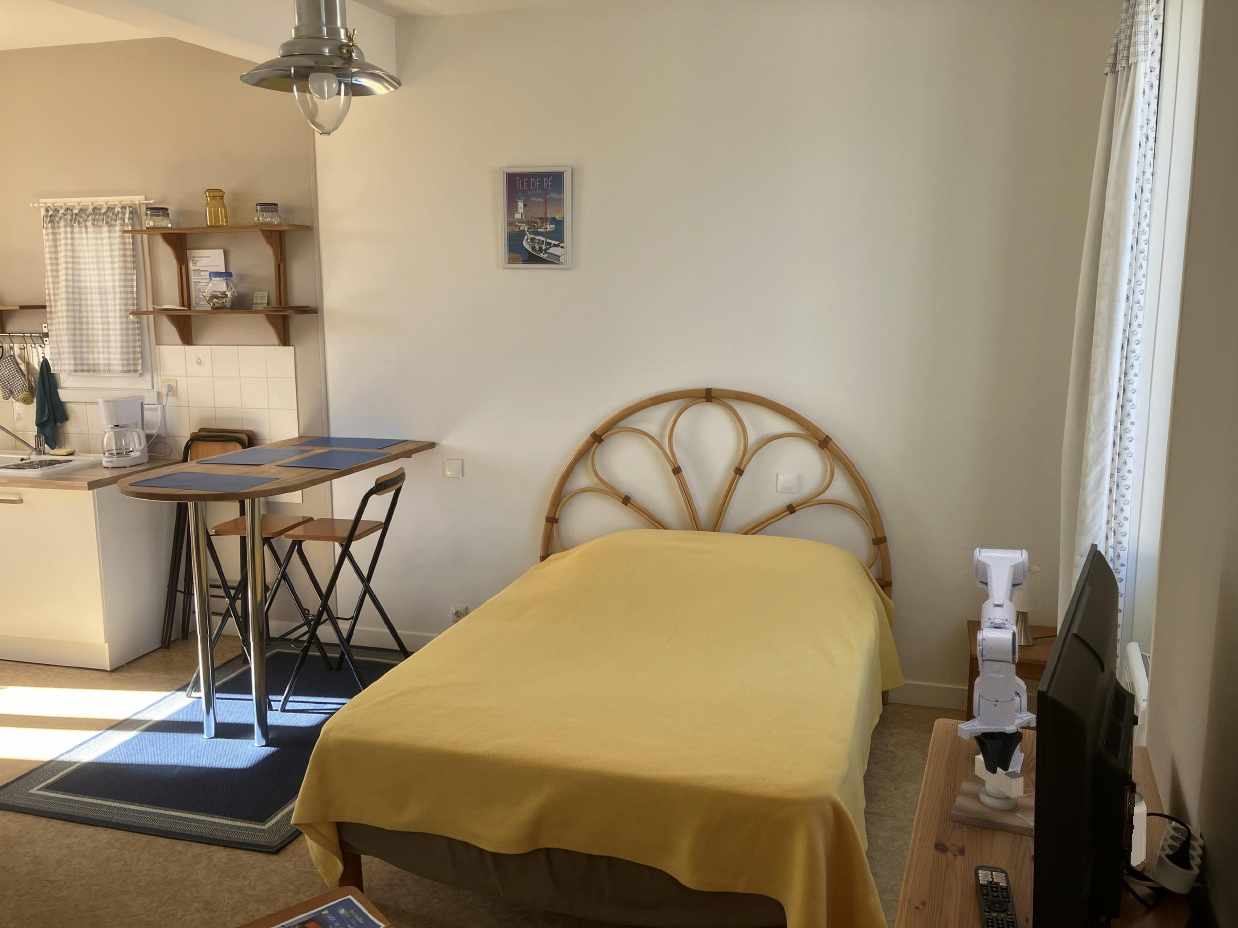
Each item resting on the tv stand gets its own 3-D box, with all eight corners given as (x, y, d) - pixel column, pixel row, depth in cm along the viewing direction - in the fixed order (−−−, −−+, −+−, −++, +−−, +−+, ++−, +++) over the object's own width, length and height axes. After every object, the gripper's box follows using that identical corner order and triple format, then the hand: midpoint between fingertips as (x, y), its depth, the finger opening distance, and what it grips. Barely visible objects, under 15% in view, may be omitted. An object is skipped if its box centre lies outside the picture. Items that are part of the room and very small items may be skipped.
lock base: (964, 784, 182) (964, 769, 182) (1043, 797, 176) (1044, 782, 175) (951, 820, 169) (951, 804, 169) (1036, 837, 163) (1036, 820, 162)
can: (1150, 876, 150) (1152, 805, 148) (1106, 874, 151) (1107, 802, 149) (1137, 854, 156) (1139, 785, 154) (1094, 852, 157) (1096, 783, 156)
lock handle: (970, 782, 176) (970, 755, 176) (990, 778, 178) (990, 751, 177) (1006, 806, 167) (1007, 778, 166) (1027, 802, 168) (1028, 773, 167)
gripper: (976, 710, 159) (976, 787, 161) (1048, 697, 163) (1047, 772, 165) (950, 696, 166) (950, 769, 167) (1020, 683, 170) (1019, 755, 171)
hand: (996, 770), depth 167 cm, fingers closed
